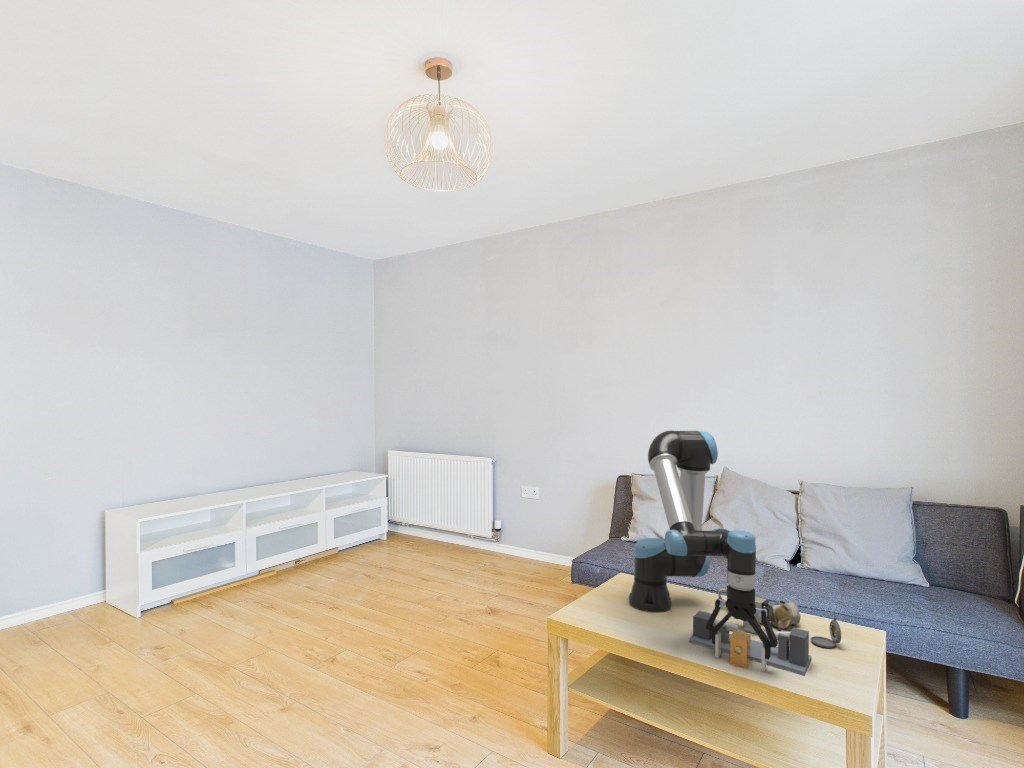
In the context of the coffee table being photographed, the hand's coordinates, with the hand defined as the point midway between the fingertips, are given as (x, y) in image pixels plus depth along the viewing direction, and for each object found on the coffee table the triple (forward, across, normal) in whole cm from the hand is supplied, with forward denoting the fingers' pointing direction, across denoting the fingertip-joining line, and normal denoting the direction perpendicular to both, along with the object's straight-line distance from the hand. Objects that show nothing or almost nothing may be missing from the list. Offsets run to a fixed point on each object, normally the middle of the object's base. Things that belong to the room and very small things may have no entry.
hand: (740, 662), depth 154 cm
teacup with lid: (0, -12, +40) cm, 41 cm away
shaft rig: (0, 0, +10) cm, 10 cm away
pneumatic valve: (0, -3, +26) cm, 26 cm away
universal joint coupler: (0, 0, 0) cm, 0 cm away
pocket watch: (0, +18, +30) cm, 35 cm away
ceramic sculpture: (0, +4, +36) cm, 37 cm away
